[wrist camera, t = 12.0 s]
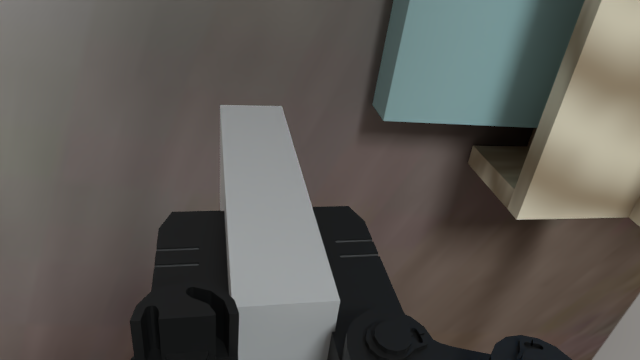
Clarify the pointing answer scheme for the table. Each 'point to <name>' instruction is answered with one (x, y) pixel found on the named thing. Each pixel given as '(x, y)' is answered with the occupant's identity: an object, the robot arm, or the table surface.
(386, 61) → the teal square tile
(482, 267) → the table surface
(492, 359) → the robot arm
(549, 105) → the shelf
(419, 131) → the table surface
